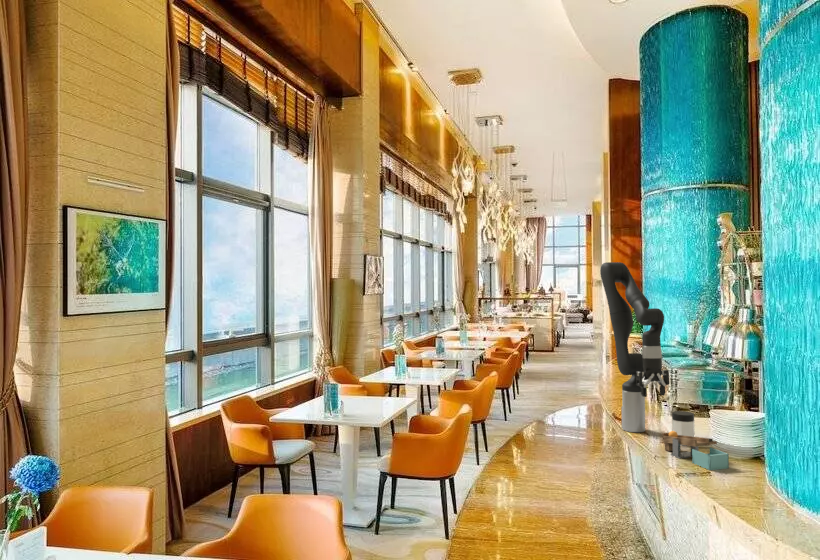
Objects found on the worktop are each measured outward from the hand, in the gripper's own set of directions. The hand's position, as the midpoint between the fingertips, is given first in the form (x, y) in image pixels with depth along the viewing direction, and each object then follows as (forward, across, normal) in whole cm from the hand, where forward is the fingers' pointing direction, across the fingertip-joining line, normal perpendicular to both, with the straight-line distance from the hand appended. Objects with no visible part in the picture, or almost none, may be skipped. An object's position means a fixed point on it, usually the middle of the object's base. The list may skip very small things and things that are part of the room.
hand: (653, 396), depth 254 cm
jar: (+18, -6, +10) cm, 21 cm away
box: (+19, +5, +38) cm, 42 cm away
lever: (+17, +3, +26) cm, 31 cm away
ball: (+12, +5, +18) cm, 22 cm away
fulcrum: (+18, +5, +25) cm, 31 cm away
